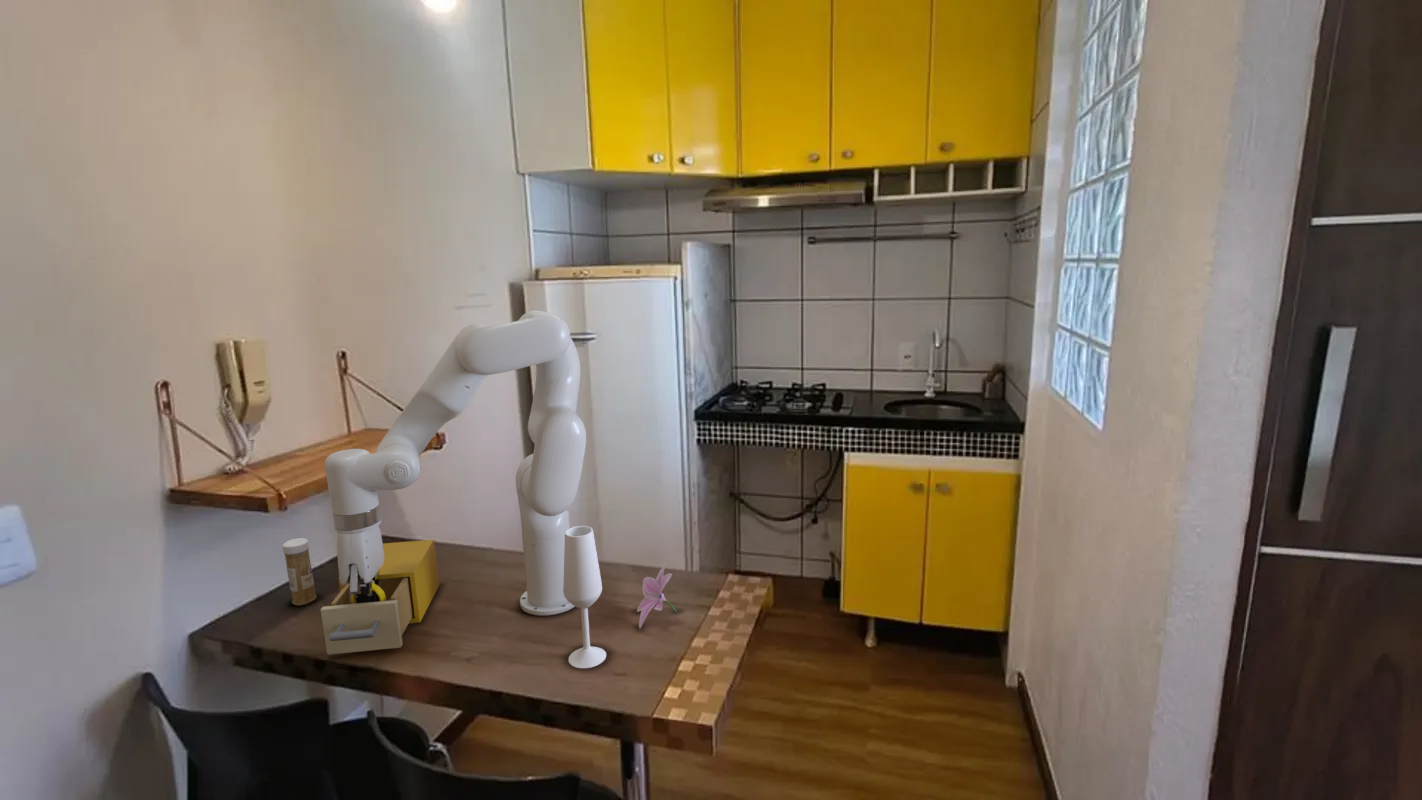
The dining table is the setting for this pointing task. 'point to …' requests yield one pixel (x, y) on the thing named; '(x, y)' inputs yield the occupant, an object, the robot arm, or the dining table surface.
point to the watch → (374, 588)
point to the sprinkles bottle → (299, 571)
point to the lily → (653, 594)
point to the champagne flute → (582, 588)
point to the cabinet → (412, 571)
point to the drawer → (368, 619)
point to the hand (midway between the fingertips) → (371, 609)
